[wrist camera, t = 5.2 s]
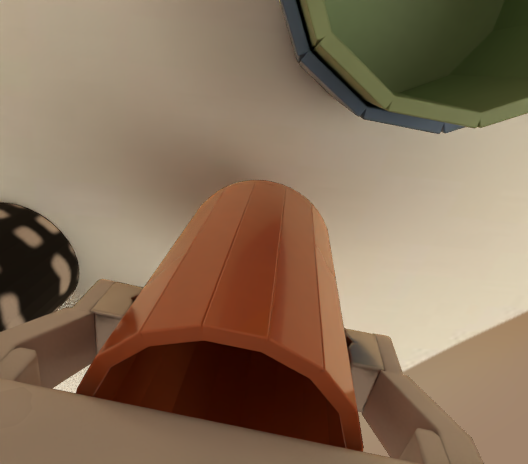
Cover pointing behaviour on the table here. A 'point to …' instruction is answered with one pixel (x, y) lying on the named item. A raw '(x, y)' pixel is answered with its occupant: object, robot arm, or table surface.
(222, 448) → the robot arm
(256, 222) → the terracotta cup
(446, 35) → the cup stack
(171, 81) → the table surface
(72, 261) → the spotted tube
